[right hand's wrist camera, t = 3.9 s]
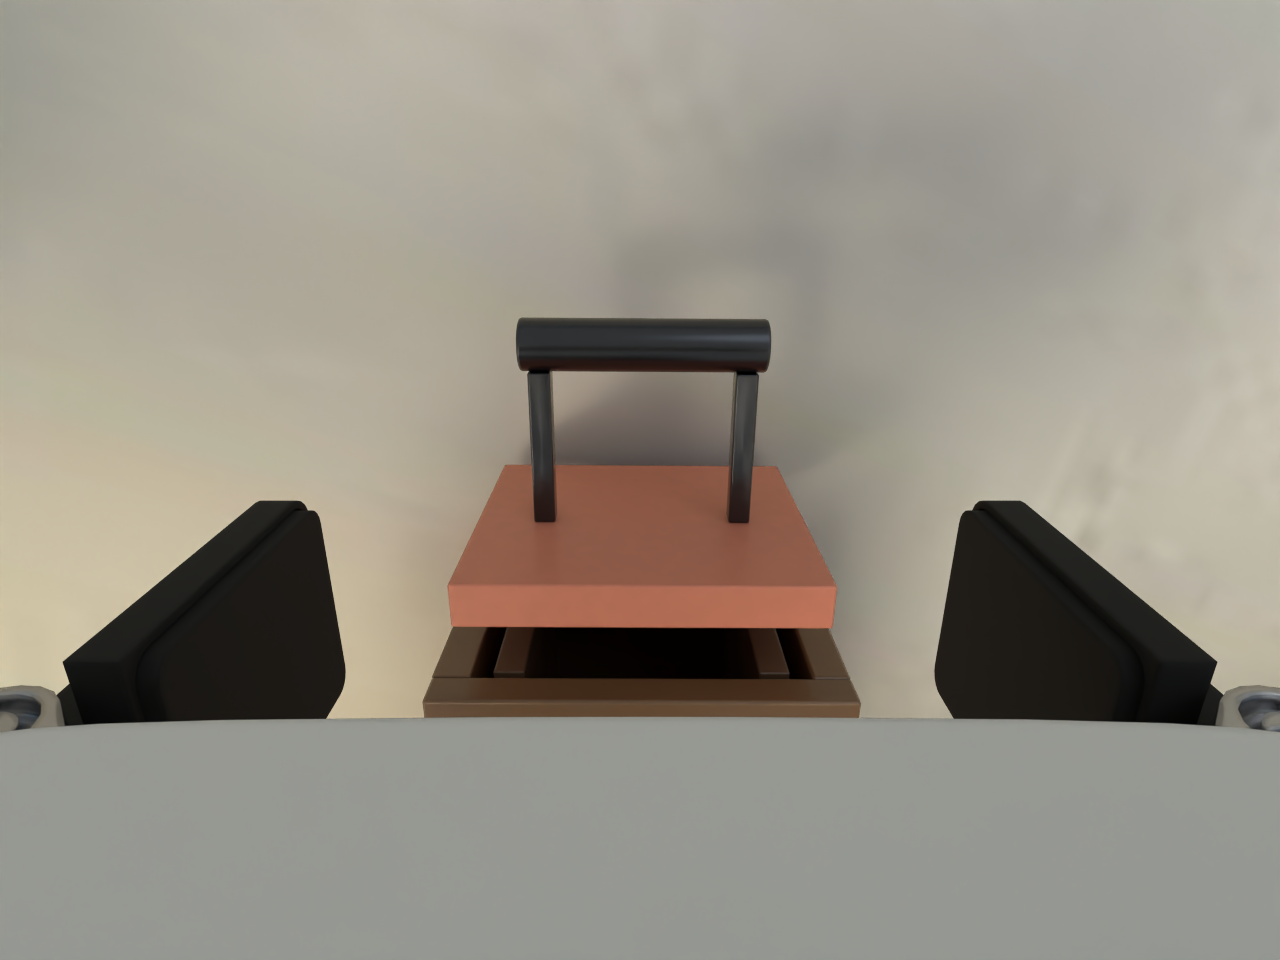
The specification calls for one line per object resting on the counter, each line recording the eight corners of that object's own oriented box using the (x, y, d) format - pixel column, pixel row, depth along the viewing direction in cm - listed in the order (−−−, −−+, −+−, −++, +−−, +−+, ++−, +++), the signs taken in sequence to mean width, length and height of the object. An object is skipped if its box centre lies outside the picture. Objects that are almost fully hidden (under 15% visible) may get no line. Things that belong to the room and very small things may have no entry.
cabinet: (496, 521, 28) (420, 700, 18) (784, 522, 28) (862, 702, 18) (523, 910, 35) (478, 1188, 25) (751, 910, 35) (794, 1188, 25)
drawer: (494, 294, 24) (423, 347, 16) (790, 296, 24) (865, 350, 16) (529, 865, 32) (495, 1080, 25) (745, 866, 32) (780, 1081, 25)
